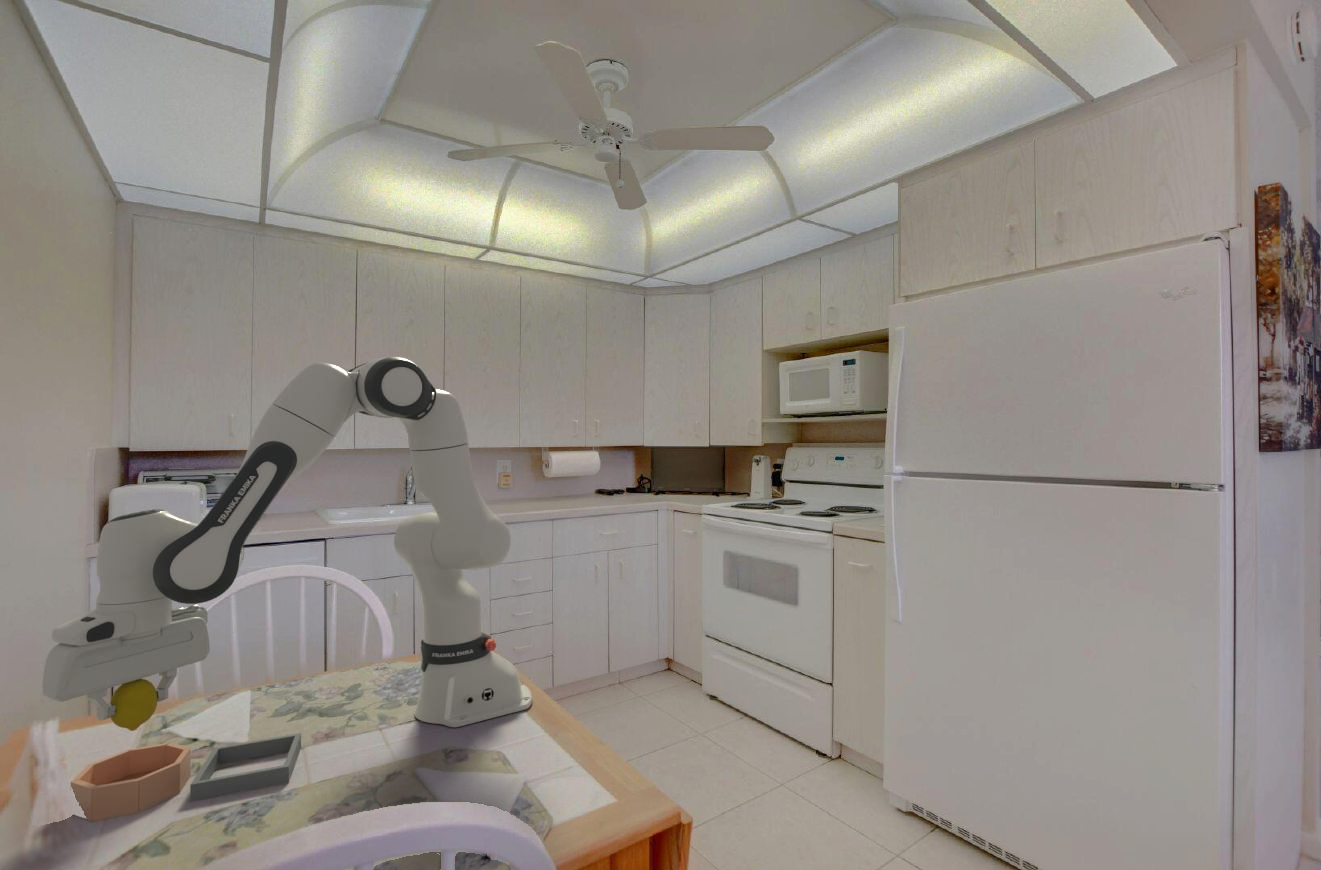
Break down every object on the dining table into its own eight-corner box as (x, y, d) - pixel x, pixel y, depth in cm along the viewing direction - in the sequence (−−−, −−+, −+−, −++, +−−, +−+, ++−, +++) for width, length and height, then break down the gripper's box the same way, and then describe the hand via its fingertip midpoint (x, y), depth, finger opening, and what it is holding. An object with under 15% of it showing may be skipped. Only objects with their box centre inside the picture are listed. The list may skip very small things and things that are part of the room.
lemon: (129, 739, 90) (129, 684, 90) (99, 737, 91) (99, 682, 91) (166, 723, 95) (166, 671, 95) (137, 721, 96) (138, 670, 97)
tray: (301, 747, 107) (301, 732, 107) (288, 782, 95) (288, 766, 95) (214, 762, 102) (214, 747, 102) (190, 801, 90) (190, 784, 91)
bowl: (197, 765, 101) (197, 737, 101) (170, 805, 89) (171, 774, 90) (99, 782, 96) (99, 753, 96) (56, 828, 84) (57, 794, 85)
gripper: (195, 600, 104) (194, 682, 104) (37, 633, 85) (35, 733, 85) (219, 603, 102) (218, 687, 102) (62, 637, 83) (60, 740, 83)
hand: (133, 708), depth 93 cm, fingers closed on lemon, 6 cm apart
